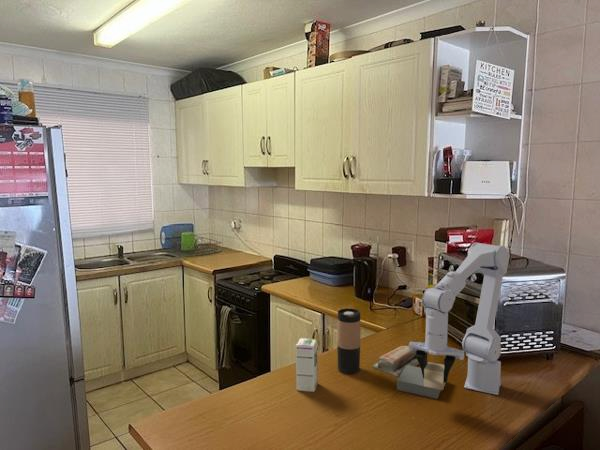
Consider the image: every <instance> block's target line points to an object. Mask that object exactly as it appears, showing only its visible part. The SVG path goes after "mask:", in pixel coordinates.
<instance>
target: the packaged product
mask: <svg viewBox="0 0 600 450" xmlns="http://www.w3.org/2000/svg"><path fill="white" fill-rule="evenodd" d="M377 361H378V362H377V363H375V364H372V368H373V369H375V370H378V371H381V372H383V373H385V374H389V375H392V376H395V377H397V378H399V376H400V375H401V373H402V372H403V370H404V369H405V367H406V365H410V366H415V367H417V365H419V362H418V360H417V359H416V351H415V350H413V351H410V350H409V345H400V346H399V347H396V348H394V349H393V350H391V351H389V352H387V353H384V354H382V355H381V356H379V357H378V360H377Z"/></svg>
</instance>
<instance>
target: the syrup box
mask: <svg viewBox="0 0 600 450" xmlns="http://www.w3.org/2000/svg"><path fill="white" fill-rule="evenodd" d="M318 371H319V369H318V340H317V339H316V338H307V337H306V338H305V337H304V338H302V337H301V338H299V339H298V341H297V342H296V344H295V378H296V380H295V381H296V385H295V386H296V391H301V392H313V393H314V392H315V391H316V389H317V386H318V382H319V381H318V380H319V377H318V375H319V374H318Z"/></svg>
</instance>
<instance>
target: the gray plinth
mask: <svg viewBox="0 0 600 450" xmlns="http://www.w3.org/2000/svg"><path fill="white" fill-rule="evenodd" d="M396 390H398V391H401V392H405V393H410V394H415V395H419V396H424V397H427V398H430V399H431V398H432V399H435V400H436V399H438V398H439V396H440V395H441V392H442V390H439V389H434V388H430V387H425V386H424V378H423V375H422V371H421V367H420V366H419V367H418V366H410V365H406V367H405V369H404V370H403V372H402V373H401V375H400V376H398V377H397V379H396Z"/></svg>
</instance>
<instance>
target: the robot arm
mask: <svg viewBox="0 0 600 450" xmlns="http://www.w3.org/2000/svg"><path fill="white" fill-rule="evenodd" d="M509 261H510V253H509V250H508V248H507V247H506V246H504V245H496V244H489V243H488V244H487V243H482V242H481V243H480V242H476V241H475V242H473V243H472V244H471V245H470V247H469V248H468V249H467V256H466V258H464V260H463V261H462V263H461V264H460V265H459V266H458V268H457V269H456V270H455V271H448V272H447V274H445V276H444V277H443V278H441V280H440V281H438V283H437V284H436V285H435V286H434V287H429V288H427V289H426V290H425V291H424V293H423V295H422V298H421V304H422V306H423V309H424V310H423V311H424V314H425V336H424V337H425V338H424V339H425V341H424V342H419V341H418V342H417V341H410V342H409V343H408V346H409V350H410V351H413V350H415V351H416V359H417V360H418V362H419V364H418V365H419V367H420V368H421V371H422V375H423V378H424V369H425V367H426V365H427V363H428V354H429V355H433V356H442V357H445V358H444V360H443V365H444V383H445V384H446V383H447V382H448V378H449V374H450V371H451V369H452V368H453V365H454V363H455V361H456V359H458V360H459V361H460V360H461V361H464V360H465V356H466V357H467V376H466V378H465V383H464V385H463V386H464V387H463V388H464V389H468V390H472V391H478V392H481V393H487V394H492V395H497V396H498V395H500V394H499V392H500V387H502V386H501V385H502V380H501V370H502V369H501V368H502V367H501V365H502V362H501V361H500V360H498V359H499V358H500V356H501V353H502V347H501V346H502V345H501V341H502V338H501V336H500V334H499V333H498V332H497V331H496V330H495V329H494V327H495V321H496V316H497V309H498V304H499V300H500V295H501V288H502V282H503V278H504V275H506V274H507V273H508V267H509ZM478 269H479V270H481V272H482V274H483V281H482V284H481V291H480V297H479V301H478V308H477V312H476V319H475V324H474V325H472V326H470V327H468V328H467V329H466V330H465V331H466V332H465V335H464V336H463V339H462V342H461V346H462V350H461V349H458V348H454V347H451V346H448V326H449V325H448V323H449V312H450V311H451V309H452V308H453V307H454V303H455V301H456V297H457V296H458V295H459V293H461V291H463V289H465V287H466V285H467V283H466V280H467V279H468V278H469V277H470V276H472V274H474V273H476V271H477V270H478Z"/></svg>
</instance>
